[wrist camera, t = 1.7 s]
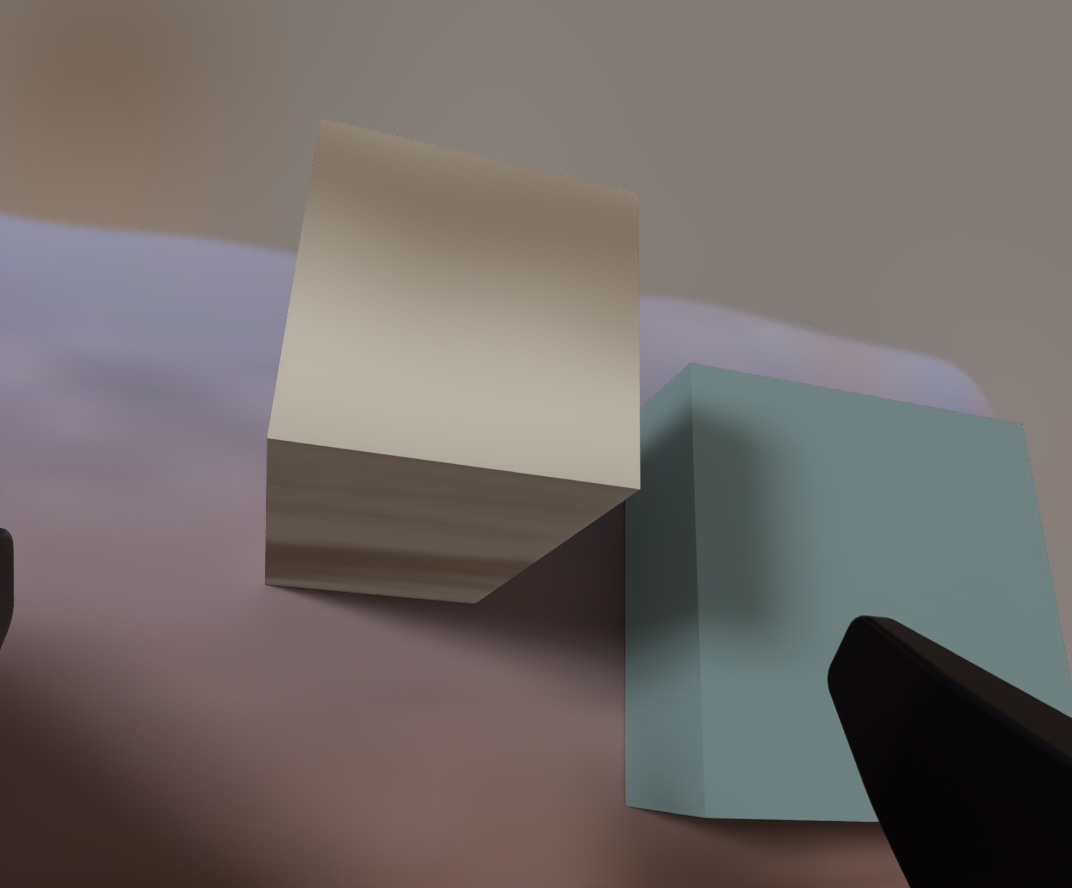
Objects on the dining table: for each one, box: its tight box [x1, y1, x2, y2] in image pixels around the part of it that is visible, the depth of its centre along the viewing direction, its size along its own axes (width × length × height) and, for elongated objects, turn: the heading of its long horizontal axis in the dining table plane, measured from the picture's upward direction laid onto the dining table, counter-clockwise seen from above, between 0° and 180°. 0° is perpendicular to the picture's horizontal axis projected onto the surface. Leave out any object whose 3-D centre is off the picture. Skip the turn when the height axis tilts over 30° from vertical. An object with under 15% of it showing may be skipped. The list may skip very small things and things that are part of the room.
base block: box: [625, 363, 1072, 822], centre depth 21 cm, size 10×10×4 cm
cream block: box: [265, 118, 640, 604], centre depth 16 cm, size 5×5×10 cm
